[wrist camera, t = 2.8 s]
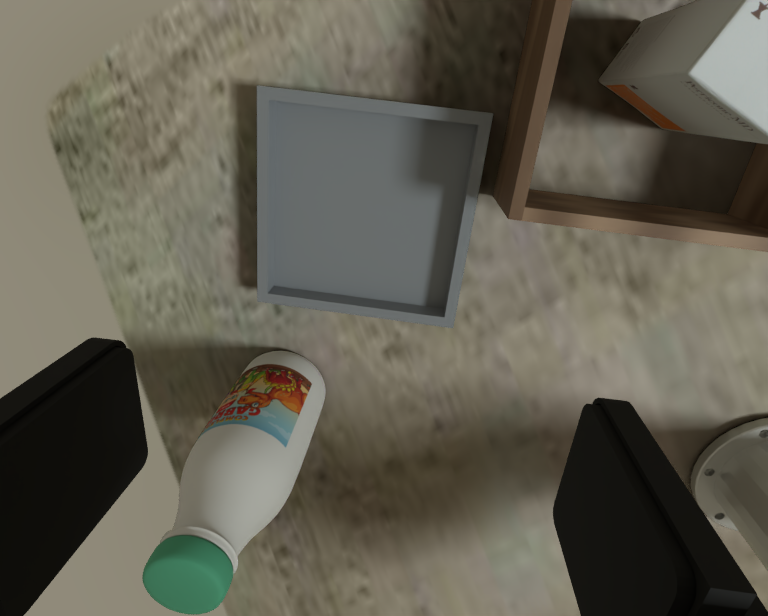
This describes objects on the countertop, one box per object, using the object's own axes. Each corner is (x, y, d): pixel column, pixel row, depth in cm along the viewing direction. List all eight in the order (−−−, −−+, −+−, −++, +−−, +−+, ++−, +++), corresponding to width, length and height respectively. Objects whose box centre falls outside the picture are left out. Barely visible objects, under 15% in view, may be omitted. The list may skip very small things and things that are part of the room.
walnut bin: (859, -73, 27) (1005, -132, 20) (734, 226, 34) (810, 257, 27) (553, -104, 28) (593, -171, 21) (492, 196, 35) (508, 218, 28)
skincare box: (594, 82, 31) (682, 71, 20) (641, 18, 30) (764, -30, 19) (663, 134, 32) (783, 150, 21) (713, 75, 31) (870, 59, 20)
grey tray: (489, 112, 33) (493, 113, 30) (451, 314, 39) (452, 328, 37) (268, 86, 33) (256, 85, 31) (267, 289, 40) (257, 301, 37)
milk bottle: (344, 386, 43) (280, 597, 25) (292, 432, 45) (199, 653, 27) (279, 331, 41) (159, 514, 23) (228, 382, 44) (85, 583, 26)
